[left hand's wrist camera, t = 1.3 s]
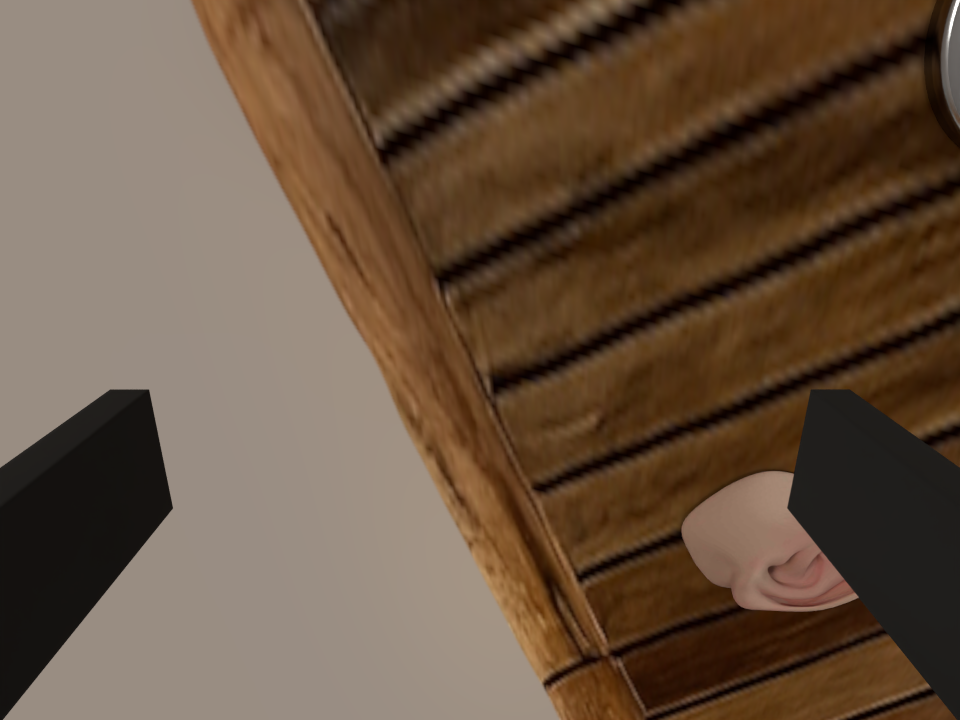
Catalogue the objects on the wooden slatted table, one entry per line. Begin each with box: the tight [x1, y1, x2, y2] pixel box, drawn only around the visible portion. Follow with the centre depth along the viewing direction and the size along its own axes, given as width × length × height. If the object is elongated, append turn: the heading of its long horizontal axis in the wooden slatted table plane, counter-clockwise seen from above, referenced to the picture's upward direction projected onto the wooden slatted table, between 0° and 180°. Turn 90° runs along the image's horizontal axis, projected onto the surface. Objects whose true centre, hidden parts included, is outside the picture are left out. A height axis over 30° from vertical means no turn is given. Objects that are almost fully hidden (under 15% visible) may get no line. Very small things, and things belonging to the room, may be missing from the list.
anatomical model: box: [682, 471, 859, 611], centre depth 46 cm, size 13×4×12 cm
